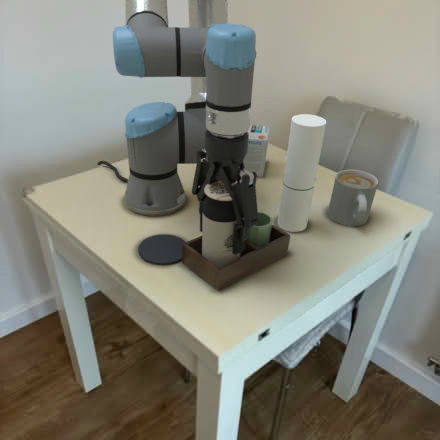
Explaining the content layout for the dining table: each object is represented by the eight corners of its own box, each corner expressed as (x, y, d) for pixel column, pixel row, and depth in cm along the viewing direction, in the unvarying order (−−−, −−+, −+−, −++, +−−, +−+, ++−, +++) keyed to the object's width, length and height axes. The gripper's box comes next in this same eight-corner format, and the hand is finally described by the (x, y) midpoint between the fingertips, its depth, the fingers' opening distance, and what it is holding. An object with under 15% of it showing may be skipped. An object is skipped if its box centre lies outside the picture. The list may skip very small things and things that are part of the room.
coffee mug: (327, 203, 118) (334, 167, 112) (365, 207, 118) (375, 171, 111) (328, 230, 108) (337, 193, 102) (371, 235, 107) (382, 197, 101)
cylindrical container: (309, 219, 112) (328, 117, 96) (303, 234, 107) (323, 128, 91) (281, 214, 114) (295, 112, 97) (274, 228, 108) (288, 123, 92)
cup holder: (182, 263, 96) (181, 243, 93) (251, 231, 107) (253, 213, 104) (217, 291, 90) (218, 271, 87) (287, 254, 100) (290, 235, 97)
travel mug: (196, 259, 98) (196, 182, 86) (230, 252, 100) (235, 176, 88) (209, 281, 92) (212, 202, 80) (245, 273, 94) (252, 195, 83)
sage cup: (233, 248, 101) (235, 217, 96) (254, 238, 105) (257, 208, 99) (253, 262, 98) (256, 230, 92) (274, 251, 101) (278, 220, 96)
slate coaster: (128, 247, 100) (128, 245, 100) (169, 231, 106) (169, 228, 105) (157, 271, 94) (157, 269, 93) (198, 252, 100) (198, 250, 99)
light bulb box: (243, 159, 137) (246, 123, 130) (266, 161, 137) (269, 125, 130) (240, 175, 129) (242, 137, 122) (263, 177, 129) (267, 140, 122)
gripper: (171, 116, 82) (174, 223, 96) (256, 157, 69) (245, 273, 84) (203, 108, 85) (201, 212, 100) (289, 146, 73) (273, 258, 88)
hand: (221, 240), depth 92 cm, fingers open, 9 cm apart
